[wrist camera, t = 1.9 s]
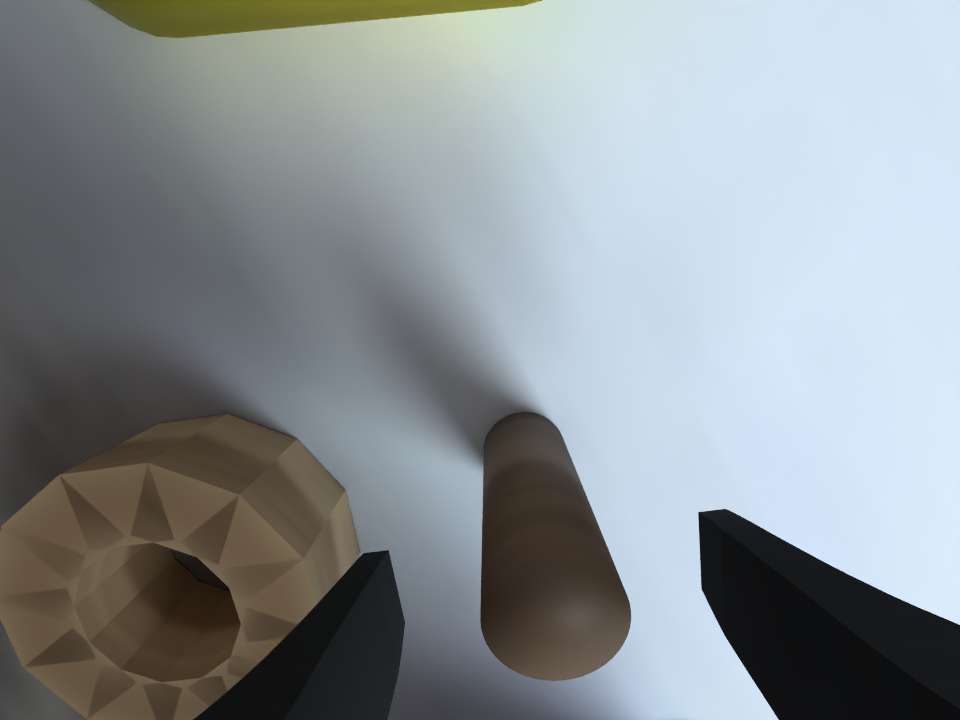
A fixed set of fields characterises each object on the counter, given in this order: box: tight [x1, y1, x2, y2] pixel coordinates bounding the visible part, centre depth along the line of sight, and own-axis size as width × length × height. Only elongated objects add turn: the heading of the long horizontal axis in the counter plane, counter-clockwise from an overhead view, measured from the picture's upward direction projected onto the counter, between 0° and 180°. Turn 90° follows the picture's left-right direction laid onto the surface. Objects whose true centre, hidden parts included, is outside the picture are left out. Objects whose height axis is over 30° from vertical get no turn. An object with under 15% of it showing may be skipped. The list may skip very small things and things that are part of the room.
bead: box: [0, 414, 360, 720], centre depth 16 cm, size 10×10×4 cm
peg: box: [481, 412, 631, 681], centre depth 13 cm, size 3×3×8 cm
